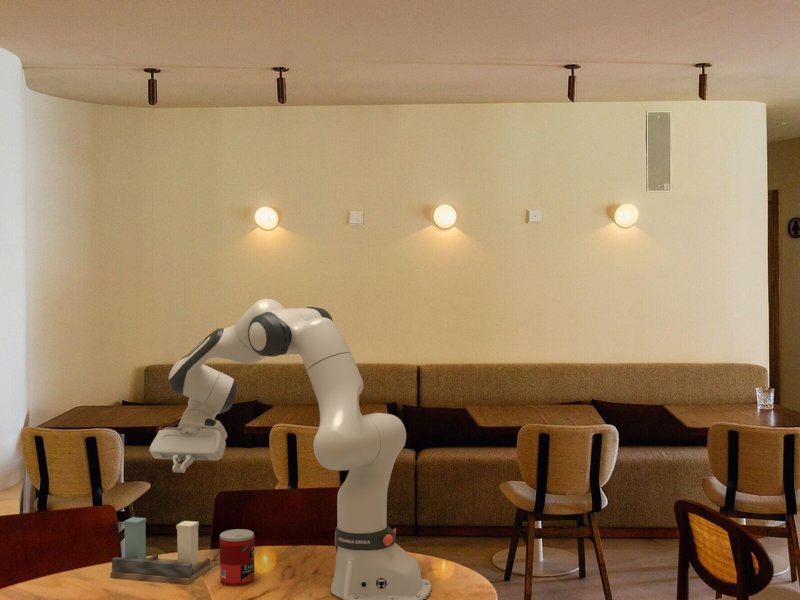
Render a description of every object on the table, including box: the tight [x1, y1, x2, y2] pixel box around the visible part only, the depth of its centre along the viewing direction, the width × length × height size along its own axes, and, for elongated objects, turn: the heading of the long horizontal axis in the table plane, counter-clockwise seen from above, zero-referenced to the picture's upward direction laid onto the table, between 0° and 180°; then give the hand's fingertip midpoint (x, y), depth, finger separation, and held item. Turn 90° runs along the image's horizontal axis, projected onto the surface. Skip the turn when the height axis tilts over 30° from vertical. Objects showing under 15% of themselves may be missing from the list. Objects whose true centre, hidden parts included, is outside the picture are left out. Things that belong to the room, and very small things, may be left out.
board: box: [110, 553, 213, 585], centre depth 203 cm, size 20×12×4 cm, turn 76°
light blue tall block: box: [123, 516, 147, 560], centre depth 205 cm, size 4×4×11 cm
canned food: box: [219, 528, 255, 587], centre depth 197 cm, size 8×8×11 cm
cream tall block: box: [175, 520, 200, 568], centre depth 201 cm, size 4×4×11 cm
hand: (178, 471), depth 222 cm, fingers closed
